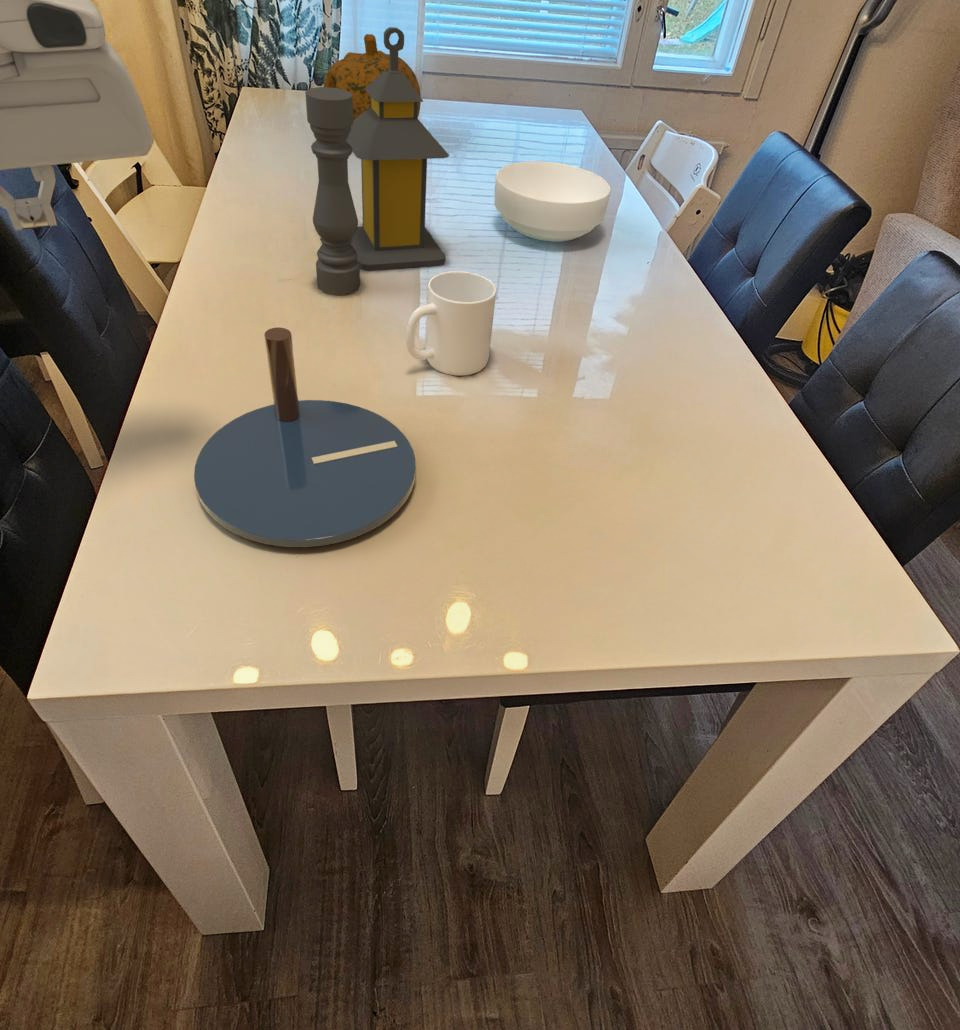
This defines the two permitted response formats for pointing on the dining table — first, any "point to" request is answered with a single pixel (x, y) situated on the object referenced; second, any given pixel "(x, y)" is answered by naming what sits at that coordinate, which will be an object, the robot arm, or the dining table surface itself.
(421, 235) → the lantern
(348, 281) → the candle holder
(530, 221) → the bowl
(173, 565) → the dining table surface
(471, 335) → the cup
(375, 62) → the decorative pumpkin
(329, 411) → the blue disc with peg
